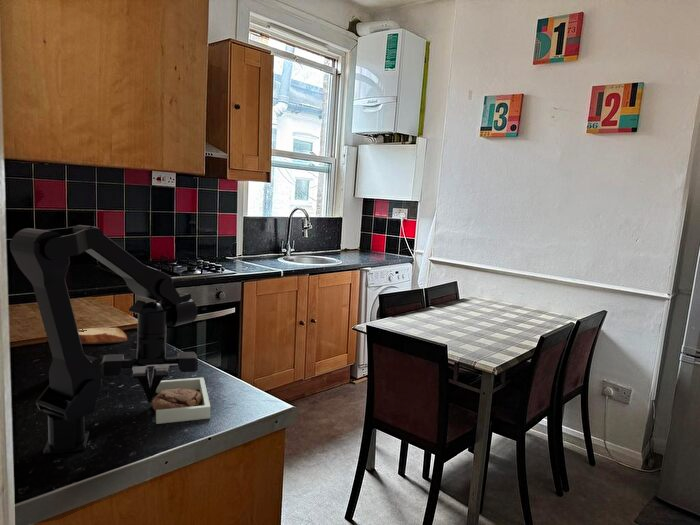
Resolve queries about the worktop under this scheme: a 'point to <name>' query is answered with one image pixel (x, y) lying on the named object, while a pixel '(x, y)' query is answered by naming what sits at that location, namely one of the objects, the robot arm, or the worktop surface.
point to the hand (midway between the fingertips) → (149, 401)
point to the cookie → (176, 399)
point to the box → (184, 412)
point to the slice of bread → (102, 336)
